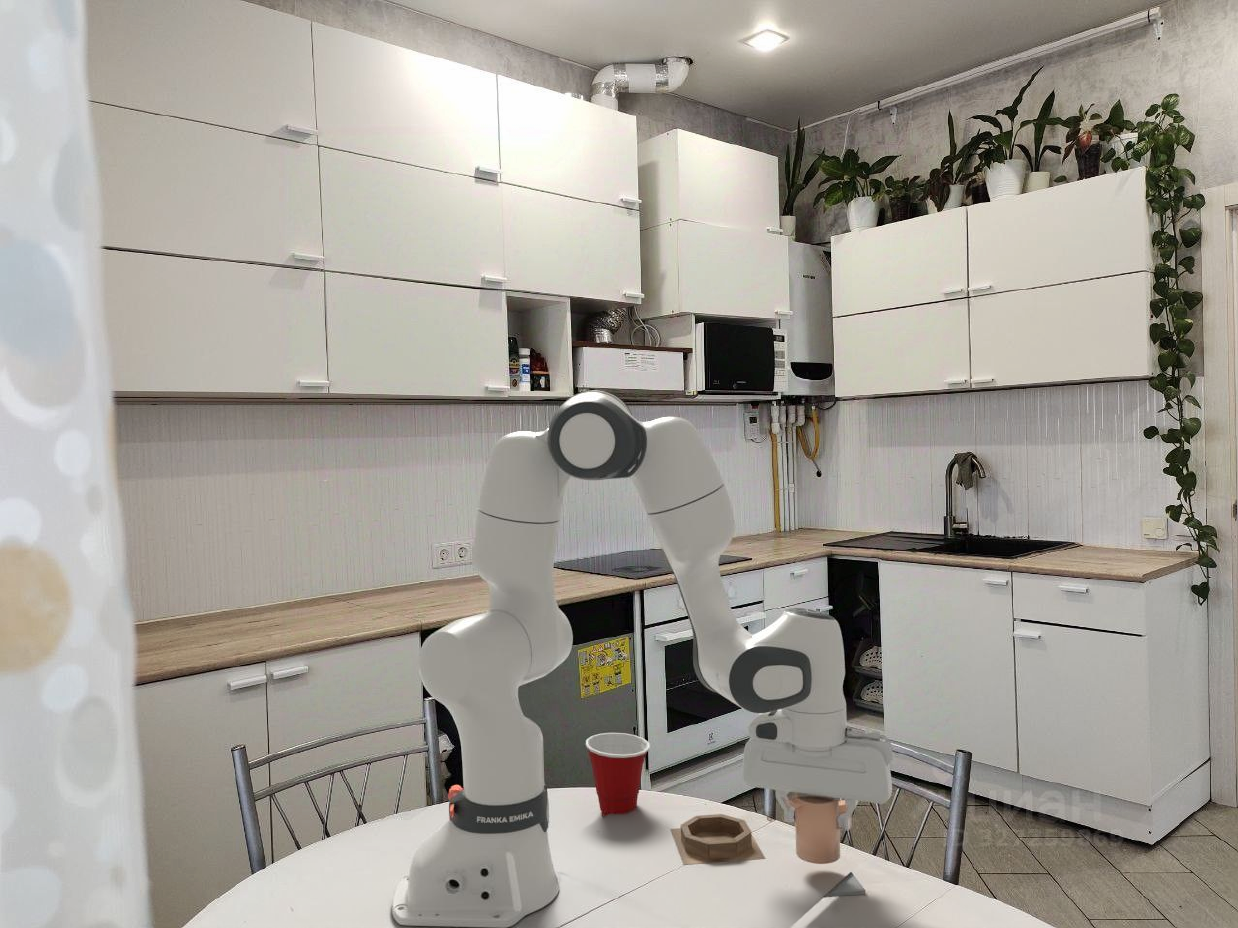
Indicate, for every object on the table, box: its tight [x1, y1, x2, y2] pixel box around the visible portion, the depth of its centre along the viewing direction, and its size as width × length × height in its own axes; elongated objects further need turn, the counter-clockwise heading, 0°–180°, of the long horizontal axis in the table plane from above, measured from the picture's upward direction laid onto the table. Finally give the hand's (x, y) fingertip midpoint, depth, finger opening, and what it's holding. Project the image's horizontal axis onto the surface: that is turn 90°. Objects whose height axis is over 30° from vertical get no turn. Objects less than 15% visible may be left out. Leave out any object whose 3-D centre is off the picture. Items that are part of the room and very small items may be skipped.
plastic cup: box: [585, 732, 651, 817], centre depth 146 cm, size 11×11×12 cm
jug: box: [788, 792, 854, 865], centre depth 122 cm, size 9×6×8 cm, turn 108°
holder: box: [670, 813, 766, 866], centre depth 132 cm, size 12×12×3 cm
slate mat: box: [823, 871, 866, 898], centre depth 122 cm, size 10×10×1 cm
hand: (817, 824), depth 122 cm, fingers closed on jug, 6 cm apart
